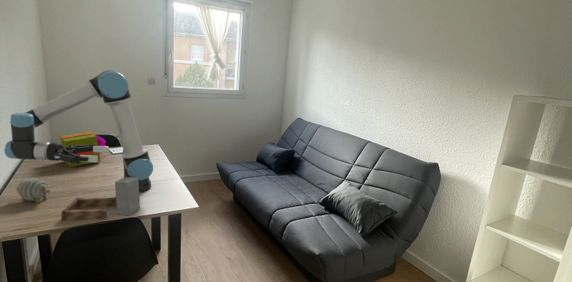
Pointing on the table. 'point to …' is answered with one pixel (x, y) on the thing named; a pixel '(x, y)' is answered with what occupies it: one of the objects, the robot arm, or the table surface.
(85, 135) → the gift box
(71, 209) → the walnut u-shaped frame
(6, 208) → the table surface
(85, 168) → the table surface
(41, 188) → the grey ribbed rounded piece
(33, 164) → the table surface
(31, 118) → the robot arm
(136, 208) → the skincare box
